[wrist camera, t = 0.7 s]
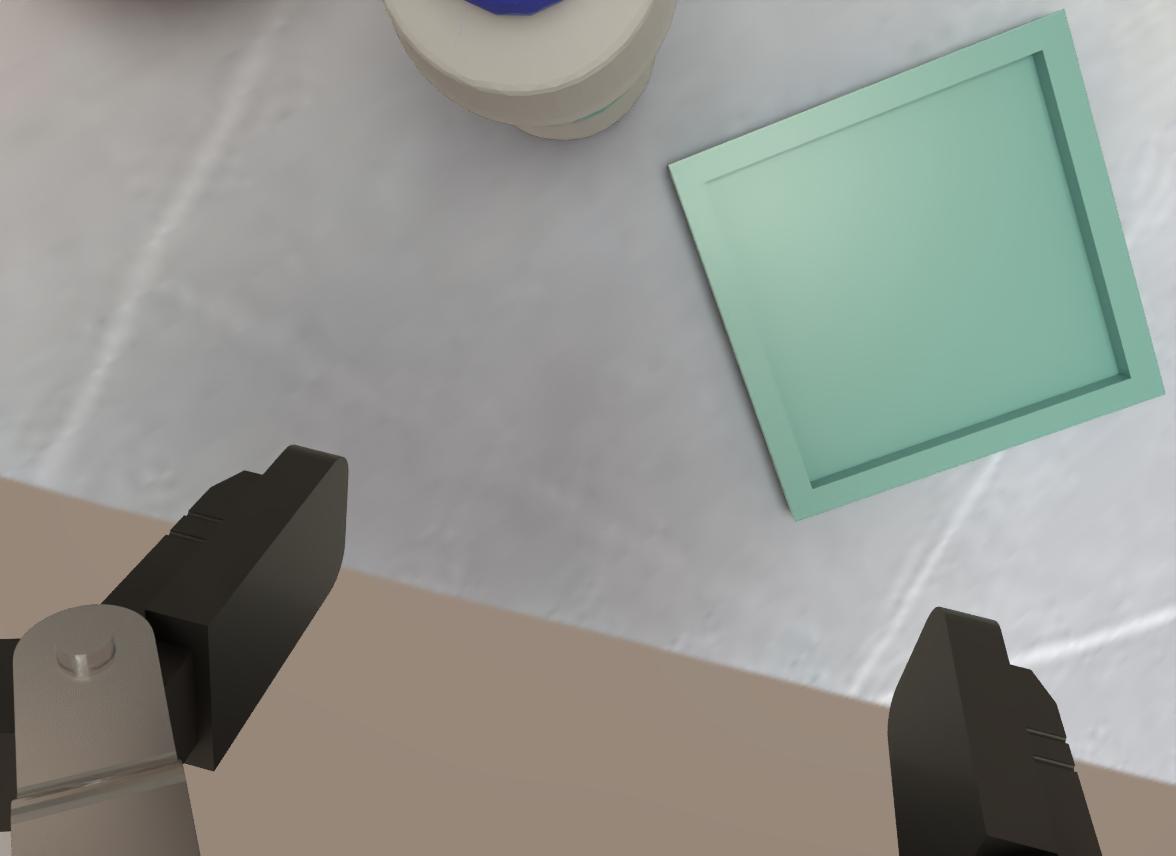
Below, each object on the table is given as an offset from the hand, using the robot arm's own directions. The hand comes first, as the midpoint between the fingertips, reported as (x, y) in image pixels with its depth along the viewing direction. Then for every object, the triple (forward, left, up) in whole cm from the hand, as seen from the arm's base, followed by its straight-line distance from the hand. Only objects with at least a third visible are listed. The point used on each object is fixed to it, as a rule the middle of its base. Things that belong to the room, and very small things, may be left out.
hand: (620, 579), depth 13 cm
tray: (+2, +11, -25) cm, 27 cm away
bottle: (-10, +2, -25) cm, 27 cm away
